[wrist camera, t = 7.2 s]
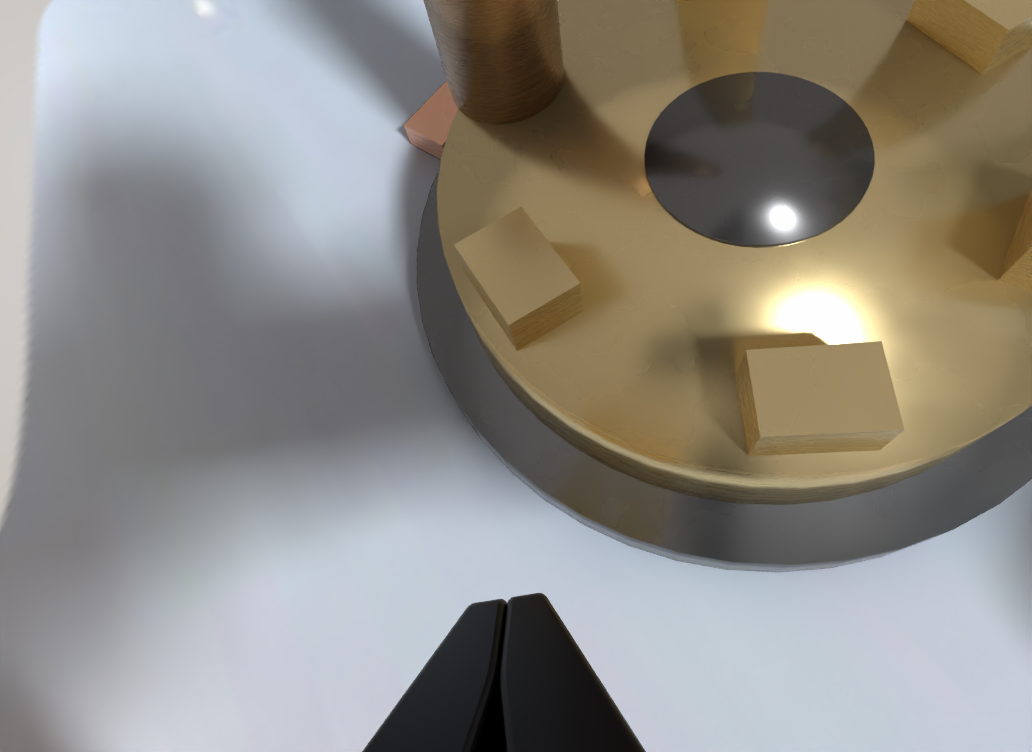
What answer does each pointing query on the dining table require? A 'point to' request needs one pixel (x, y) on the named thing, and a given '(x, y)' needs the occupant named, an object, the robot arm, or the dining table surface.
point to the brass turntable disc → (746, 230)
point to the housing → (671, 515)
